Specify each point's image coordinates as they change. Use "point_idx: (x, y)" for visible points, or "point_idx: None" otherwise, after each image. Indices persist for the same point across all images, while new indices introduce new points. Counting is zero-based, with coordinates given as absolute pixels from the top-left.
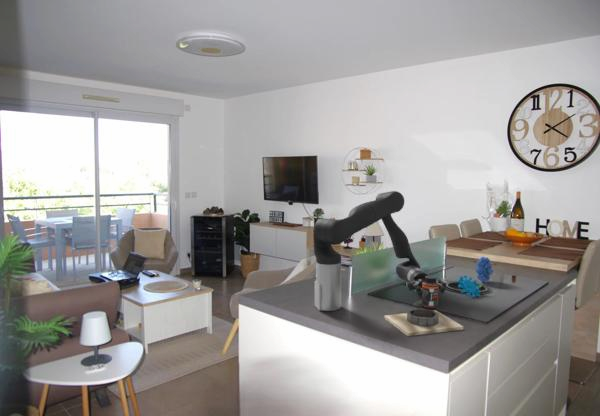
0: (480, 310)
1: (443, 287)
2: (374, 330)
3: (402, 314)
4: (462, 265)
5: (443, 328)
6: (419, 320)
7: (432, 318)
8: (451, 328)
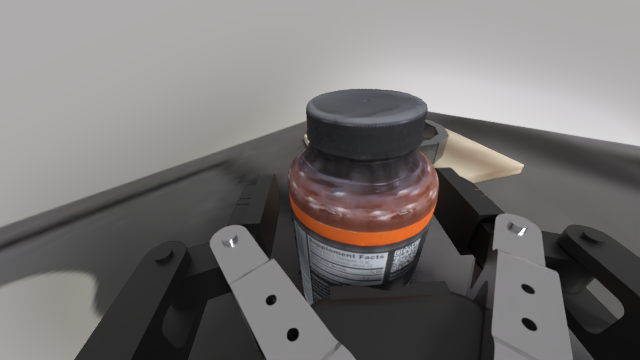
0: (130, 238)
1: (261, 175)
2: (501, 134)
3: (466, 171)
4: None
5: None
6: None
7: None
8: None
